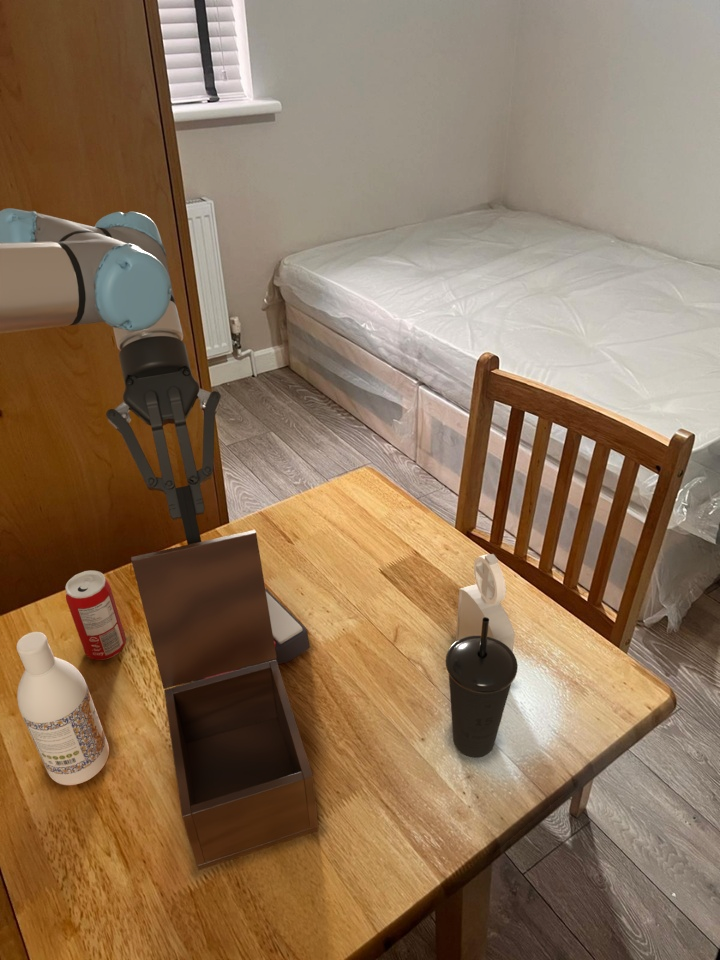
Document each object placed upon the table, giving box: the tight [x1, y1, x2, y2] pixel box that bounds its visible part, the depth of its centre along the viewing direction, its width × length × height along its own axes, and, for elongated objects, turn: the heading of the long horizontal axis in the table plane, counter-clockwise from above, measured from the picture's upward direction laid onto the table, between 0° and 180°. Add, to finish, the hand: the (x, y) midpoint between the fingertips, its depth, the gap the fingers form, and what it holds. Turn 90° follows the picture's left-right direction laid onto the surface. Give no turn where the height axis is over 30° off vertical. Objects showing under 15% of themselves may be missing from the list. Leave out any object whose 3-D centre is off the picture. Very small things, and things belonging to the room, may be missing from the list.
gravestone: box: [455, 553, 516, 653], centre depth 91 cm, size 3×9×18 cm, turn 20°
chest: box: [163, 660, 319, 871], centre depth 79 cm, size 16×13×10 cm
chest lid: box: [130, 529, 276, 690], centre depth 79 cm, size 17×13×1 cm
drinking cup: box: [445, 617, 518, 759], centre depth 80 cm, size 8×8×20 cm
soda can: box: [64, 569, 127, 661], centre depth 96 cm, size 6×6×12 cm
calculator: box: [193, 587, 311, 682], centre depth 97 cm, size 11×4×15 cm
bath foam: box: [16, 631, 110, 786], centre depth 80 cm, size 7×7×20 cm
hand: (194, 545), depth 80 cm, fingers closed
